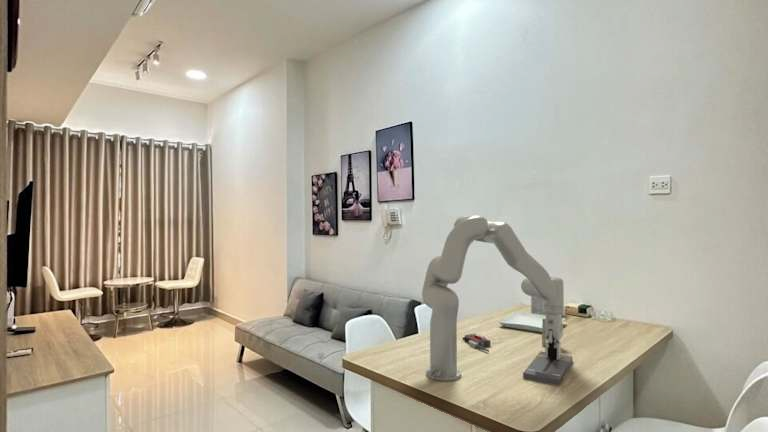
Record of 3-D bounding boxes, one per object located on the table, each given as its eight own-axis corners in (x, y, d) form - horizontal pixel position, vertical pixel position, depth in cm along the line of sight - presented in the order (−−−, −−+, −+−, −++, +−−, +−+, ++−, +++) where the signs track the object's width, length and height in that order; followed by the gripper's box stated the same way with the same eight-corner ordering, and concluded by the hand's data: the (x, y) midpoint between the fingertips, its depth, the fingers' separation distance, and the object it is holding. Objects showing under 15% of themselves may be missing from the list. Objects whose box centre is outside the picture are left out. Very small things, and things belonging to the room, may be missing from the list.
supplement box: (555, 318, 231) (554, 287, 231) (530, 315, 238) (530, 285, 238) (558, 313, 242) (558, 284, 243) (535, 311, 249) (534, 282, 249)
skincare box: (541, 346, 180) (541, 318, 180) (545, 343, 184) (545, 316, 184) (556, 349, 176) (556, 320, 176) (560, 346, 179) (560, 318, 179)
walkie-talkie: (458, 341, 188) (486, 354, 170) (458, 332, 188) (486, 344, 170) (473, 339, 192) (503, 351, 174) (473, 330, 192) (503, 341, 174)
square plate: (515, 317, 234) (515, 311, 234) (566, 325, 218) (566, 317, 218) (498, 328, 212) (498, 320, 212) (553, 336, 196) (553, 328, 196)
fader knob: (559, 359, 156) (559, 343, 156) (545, 357, 158) (545, 341, 158) (560, 357, 158) (560, 341, 158) (547, 355, 161) (546, 339, 161)
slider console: (559, 386, 137) (559, 377, 137) (523, 378, 143) (523, 369, 143) (572, 361, 160) (572, 353, 160) (540, 356, 167) (540, 348, 167)
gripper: (559, 314, 150) (560, 364, 150) (567, 306, 164) (567, 352, 164) (538, 312, 154) (538, 360, 154) (547, 304, 168) (547, 348, 168)
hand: (553, 355), depth 159 cm, fingers open, 4 cm apart
